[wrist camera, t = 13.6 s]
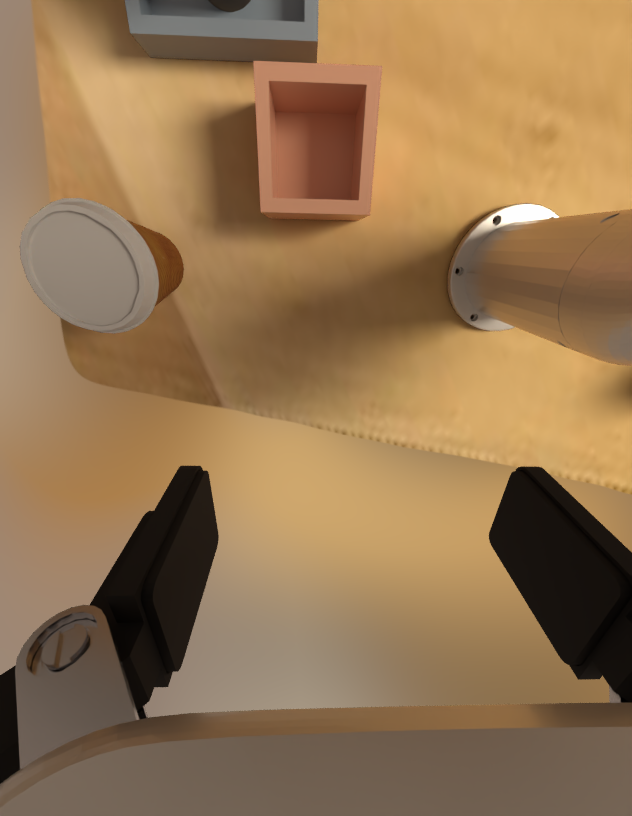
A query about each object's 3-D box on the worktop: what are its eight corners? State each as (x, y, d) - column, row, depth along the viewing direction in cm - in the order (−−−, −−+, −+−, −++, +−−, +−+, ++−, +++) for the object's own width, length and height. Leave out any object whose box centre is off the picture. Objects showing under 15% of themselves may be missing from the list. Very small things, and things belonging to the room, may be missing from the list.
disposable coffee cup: (101, 202, 32) (-3, 180, 21) (200, 223, 33) (148, 212, 22) (110, 301, 36) (27, 325, 25) (198, 317, 37) (153, 346, 26)
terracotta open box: (365, 104, 29) (382, 66, 23) (357, 220, 33) (369, 214, 27) (265, 100, 29) (253, 60, 22) (269, 218, 33) (260, 212, 26)
